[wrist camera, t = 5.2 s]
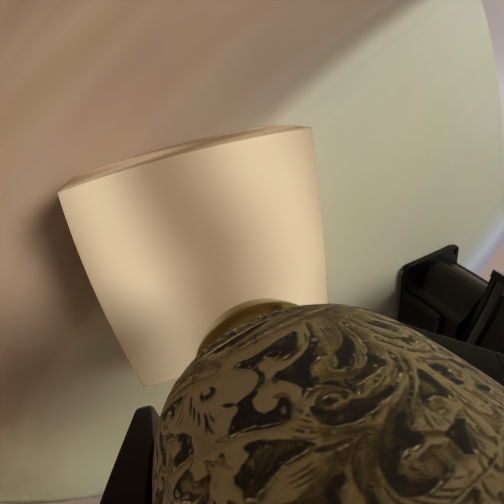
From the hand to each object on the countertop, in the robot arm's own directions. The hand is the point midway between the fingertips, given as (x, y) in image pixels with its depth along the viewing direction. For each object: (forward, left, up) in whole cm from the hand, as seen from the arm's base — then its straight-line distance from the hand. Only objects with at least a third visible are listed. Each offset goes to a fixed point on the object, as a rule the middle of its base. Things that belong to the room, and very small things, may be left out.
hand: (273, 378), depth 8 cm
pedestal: (0, 0, -10) cm, 10 cm away
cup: (0, 0, -2) cm, 2 cm away
